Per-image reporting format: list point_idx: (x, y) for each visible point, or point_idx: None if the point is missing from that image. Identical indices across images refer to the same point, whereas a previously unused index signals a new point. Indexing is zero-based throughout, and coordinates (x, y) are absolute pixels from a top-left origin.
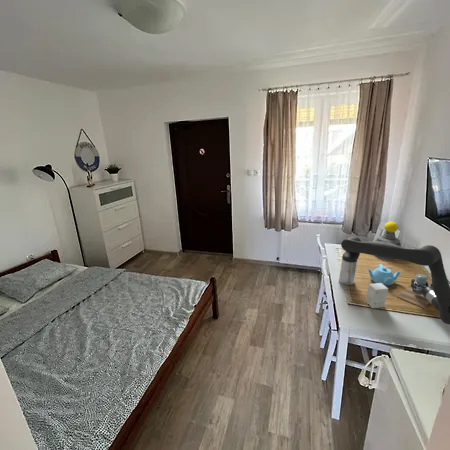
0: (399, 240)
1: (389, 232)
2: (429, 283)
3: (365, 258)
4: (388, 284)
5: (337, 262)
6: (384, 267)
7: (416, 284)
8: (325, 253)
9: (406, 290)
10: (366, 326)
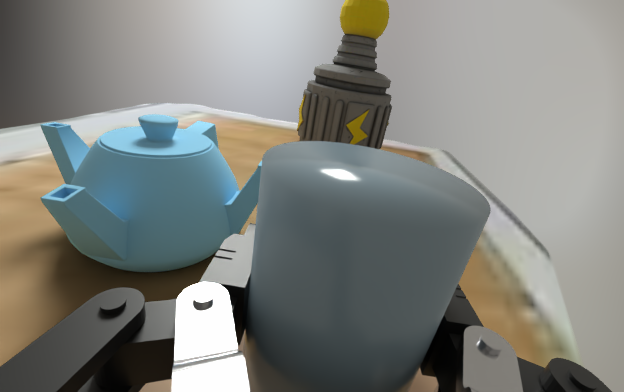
0: (387, 79)
1: (353, 35)
2: (501, 353)
3: (251, 141)
4: (134, 264)
5: (96, 131)
6: (158, 117)
7: (249, 335)
8: (118, 110)
9: (242, 347)
10: None
